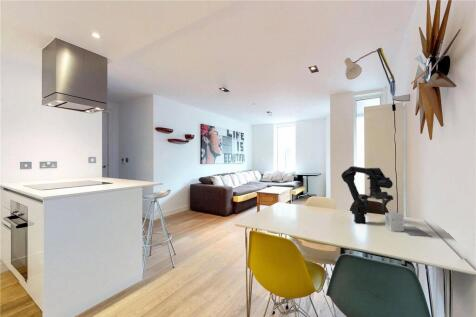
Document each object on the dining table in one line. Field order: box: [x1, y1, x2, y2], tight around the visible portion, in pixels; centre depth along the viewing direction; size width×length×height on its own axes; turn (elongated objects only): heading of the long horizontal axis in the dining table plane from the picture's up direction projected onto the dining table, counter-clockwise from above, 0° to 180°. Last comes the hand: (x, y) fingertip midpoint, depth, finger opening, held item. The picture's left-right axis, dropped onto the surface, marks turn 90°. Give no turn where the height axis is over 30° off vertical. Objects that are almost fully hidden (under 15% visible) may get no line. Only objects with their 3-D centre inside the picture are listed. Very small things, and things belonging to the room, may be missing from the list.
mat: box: [403, 225, 433, 238], centre depth 131 cm, size 11×18×1 cm, turn 164°
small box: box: [384, 212, 405, 232], centre depth 133 cm, size 8×6×10 cm
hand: (375, 209), depth 137 cm, fingers open, 9 cm apart
